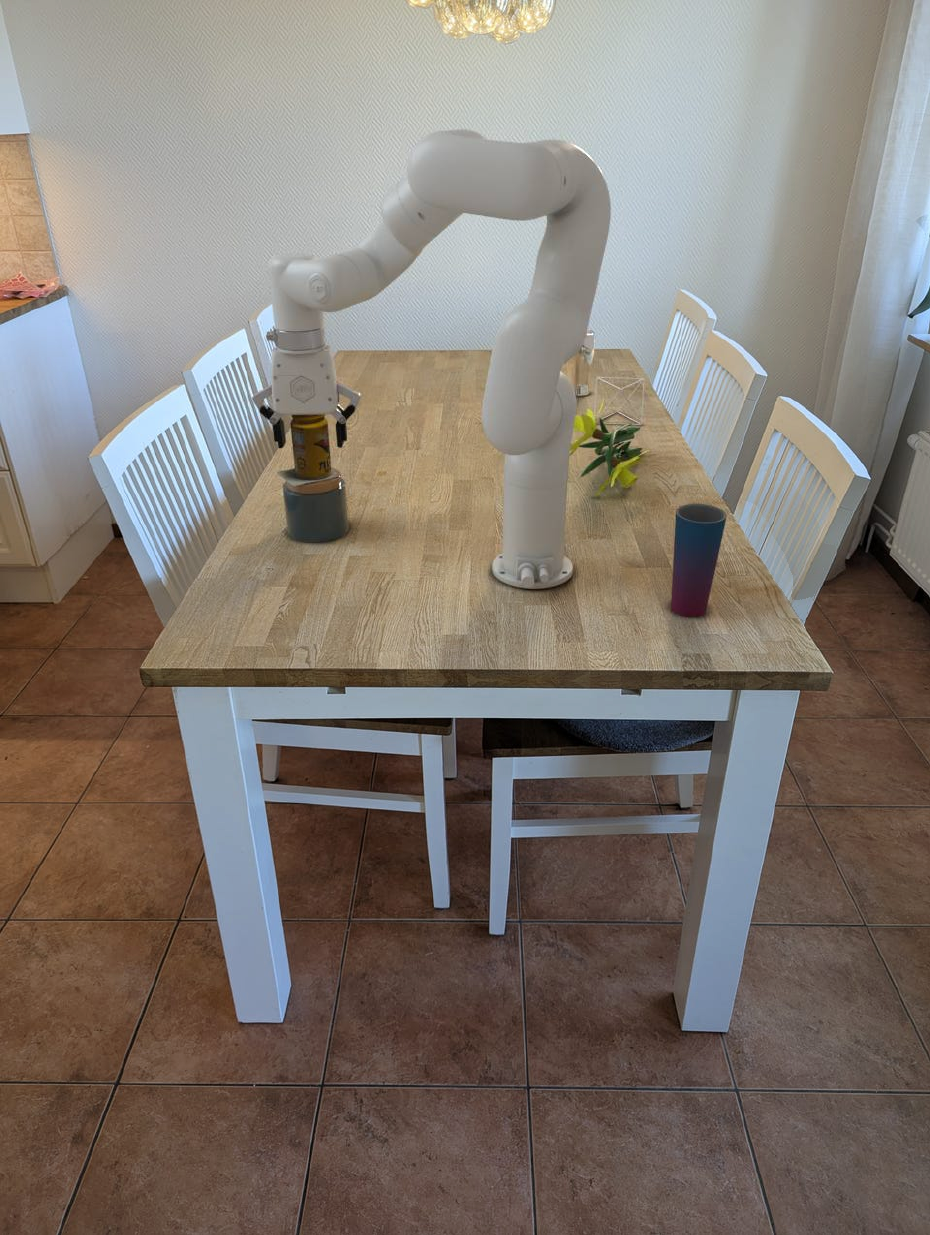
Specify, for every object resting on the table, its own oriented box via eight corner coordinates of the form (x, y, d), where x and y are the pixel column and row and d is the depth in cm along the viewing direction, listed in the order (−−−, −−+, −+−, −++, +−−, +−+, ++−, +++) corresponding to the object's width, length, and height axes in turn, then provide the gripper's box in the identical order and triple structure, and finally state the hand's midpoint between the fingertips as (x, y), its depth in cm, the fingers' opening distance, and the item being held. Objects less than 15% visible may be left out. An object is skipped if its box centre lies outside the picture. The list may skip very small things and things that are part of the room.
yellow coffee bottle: (341, 476, 152) (335, 405, 146) (294, 487, 148) (286, 414, 142) (321, 463, 158) (315, 395, 152) (276, 473, 154) (268, 403, 148)
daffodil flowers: (677, 462, 188) (656, 475, 156) (612, 493, 194) (579, 512, 162) (643, 387, 187) (614, 385, 155) (579, 420, 193) (538, 425, 161)
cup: (678, 592, 137) (690, 499, 130) (720, 606, 134) (735, 511, 126) (656, 610, 133) (667, 514, 125) (699, 625, 129) (712, 527, 122)
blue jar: (344, 542, 153) (340, 486, 148) (282, 542, 153) (276, 486, 148) (351, 517, 162) (347, 464, 157) (293, 518, 162) (287, 464, 157)
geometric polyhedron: (653, 419, 211) (656, 380, 206) (629, 431, 203) (633, 390, 199) (606, 410, 218) (608, 371, 213) (581, 421, 210) (584, 381, 206)
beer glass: (558, 391, 231) (561, 330, 224) (582, 388, 234) (585, 327, 226) (572, 398, 226) (575, 336, 218) (596, 395, 228) (600, 333, 221)
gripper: (239, 345, 139) (254, 453, 147) (353, 344, 138) (361, 452, 147) (250, 334, 145) (263, 438, 154) (359, 333, 145) (366, 437, 153)
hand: (311, 445), depth 150 cm, fingers open, 9 cm apart
